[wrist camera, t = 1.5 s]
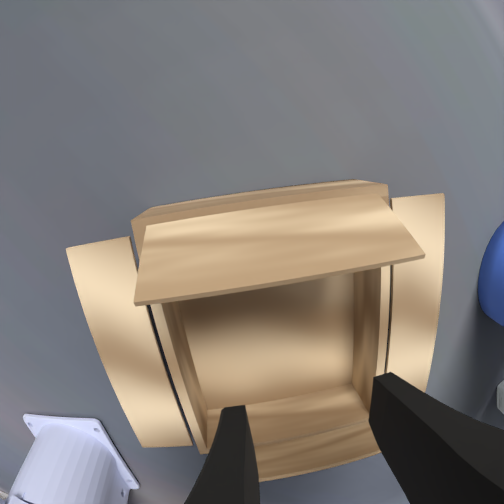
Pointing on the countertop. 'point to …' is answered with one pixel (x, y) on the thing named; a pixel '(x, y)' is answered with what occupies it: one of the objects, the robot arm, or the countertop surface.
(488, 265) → the water bottle
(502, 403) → the ink box
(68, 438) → the robot arm
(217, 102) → the countertop surface
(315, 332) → the carton
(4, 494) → the coffee box
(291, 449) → the flap far
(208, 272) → the flap near
